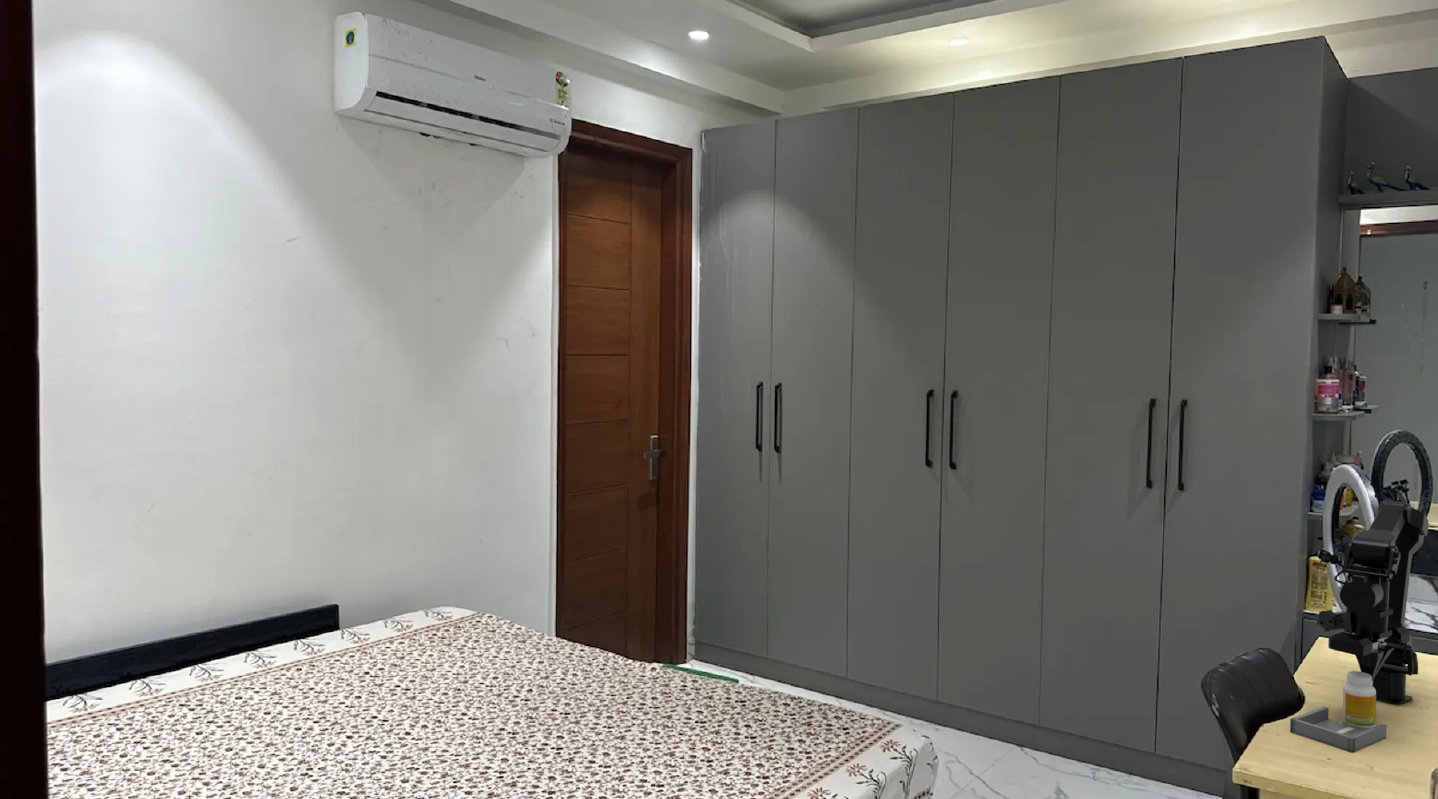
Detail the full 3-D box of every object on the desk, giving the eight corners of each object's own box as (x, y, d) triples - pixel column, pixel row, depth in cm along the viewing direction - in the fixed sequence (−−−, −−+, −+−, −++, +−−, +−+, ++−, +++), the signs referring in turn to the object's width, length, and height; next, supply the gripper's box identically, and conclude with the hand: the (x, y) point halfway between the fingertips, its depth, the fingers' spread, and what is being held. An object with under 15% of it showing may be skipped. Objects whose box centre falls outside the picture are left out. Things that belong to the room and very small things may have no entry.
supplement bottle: (1381, 729, 184) (1381, 680, 183) (1350, 729, 185) (1349, 680, 185) (1368, 718, 190) (1368, 669, 189) (1338, 717, 191) (1337, 669, 190)
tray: (1323, 718, 190) (1324, 706, 190) (1386, 738, 181) (1386, 725, 181) (1290, 731, 184) (1290, 718, 184) (1352, 752, 175) (1353, 738, 174)
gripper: (1350, 587, 199) (1348, 662, 200) (1301, 599, 190) (1298, 678, 190) (1412, 599, 190) (1409, 677, 191) (1363, 612, 180) (1360, 695, 181)
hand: (1367, 681), depth 188 cm, fingers closed
